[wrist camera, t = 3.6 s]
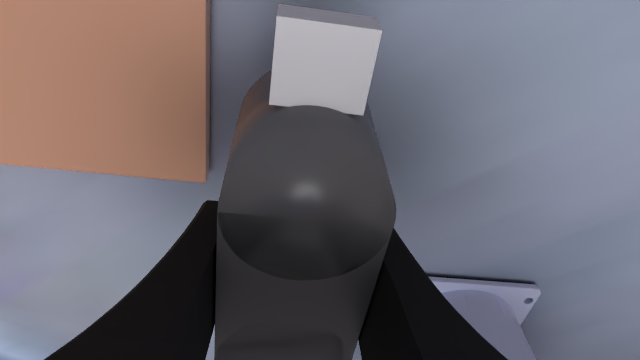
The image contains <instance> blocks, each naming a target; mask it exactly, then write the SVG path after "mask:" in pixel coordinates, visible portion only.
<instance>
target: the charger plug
mask: <svg viewBox="0 0 640 360" xmlns="http://www.w3.org/2000/svg"><path fill="white" fill-rule="evenodd" d="M381 34H382V29H381V27H380V25H379V23H378V21H377V19H376V17H371V16H364V15H357V14H350V13H343V12H336V11H329V10H321V9H314V8H307V7H300V6H293V5H286V4H278V11H277V18H276V30H275V41H274V53H273V64H272V71H270V72H268V73H267V74H265V75H264V76H262V77H261V78H260V79H259V80H258V81H256V82H255V84H254V85H253V86H252V87H251V88H250V90H249V91H248V93H247V94H246V96H245V98H244V101H243V103H242V106H241V110H240V114H239V118H238V122H237V127H236V131H235V135H234V139H233V143H232V147H231V152H230V156H229V160H228V164H227V168H226V172H225V177H224V181H223V185H222V189H221V193H220V197H219V202H218V210H217V252H216V304H215V357H214V360H352V357H353V354H354V351H355V348H356V345H357V341H358V338H359V335H360V332H361V329H362V326H363V322H364V319H365V316H366V313H367V310H368V307H369V303H370V300H371V297H372V294H373V291H374V288H375V284H376V281H377V278H378V275H379V272H380V269H381V265H382V262H383V259H384V256H385V253H386V250H387V246H388V243H389V240H390V237H391V234H392V231H393V227H394V223H395V219H396V205H395V199H394V195H393V192H392V188H391V185H390V181H389V178H388V174H387V170H386V167H385V163H384V160H383V156H382V153H381V149H380V146H379V142H378V139H377V135H376V132H375V128H374V125H373V121H372V117H371V114H370V110H369V107H368V103H367V97H368V93H369V88H370V84H371V79H372V75H373V70H374V66H375V61H376V57H377V52H378V48H379V43H380V39H381Z"/></svg>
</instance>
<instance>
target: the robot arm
mask: <svg viewBox="0 0 640 360" xmlns="http://www.w3.org/2000/svg"><path fill="white" fill-rule="evenodd" d="M218 202H219V201H210V200H207V201H206V202H204V203H203V205H202V206H201V208H200V210H199V211H198V213H197V214H196V216H195V217H194V219H193V220H192V222H191V223H190V224H189V226H188V227H187V228H186V230H185V231H184V232H183V234H182V235H181V236H180V237H179V239H178V240H177V241H176V242H175V244H174V245H173V246H172V247H171V249H170V250H169V251H168V252H167V253H166V254H165V256H164V257H163V258H162V259H161V260H160V261H159V262H158V263H157V264H156V265H155V267H154V268H153V269H152V270H151V271H150V272H149V273H148V274H147V275H146V276H145V277H144V278H143V279H142V280H141V281H140V282H139V283H138V284H137V285H136V286H135V287H134V288H133V289H132V290H131V291H130V292H129V293H128V294H127V295H126V296H125V297H124V298H123V299H121V300H120V301H119V302H118V303H117V304H116V305H115V306H114V307H112V308H111V309H110V310H109V311H108V312H106V313H105V314H104V315H103V316H102V317H100V318H99V319H98V320H97V321H96V322H95V323H93V324H92V325H91V326H90V327H88V328H87V329H86V330H84V331H83V332H82V333H81V334H79V335H78V336H77V337H75V338H74V339H72V340H71V341H70V342H68V343H67V344H65V345H64V346H63V347H61V348H60V349H58V350H57V351H56V352H54V353H53V354H51V355H50V356H49V357H47V358H46V359H44V360H205V358H206V355H207V351H208V347H209V343H210V340H211V336H212V332H213V328H214V325H215V304H216V252H217V210H218ZM540 294H541V291H540V289H539V287H538V286H537V285H534V284H522V283H509V282H495V281H482V280H468V279H455V278H441V277H428V276H427V275H426V273H425V272H424V270H423V269H422V268H421V266H420V265H419V264H418V262H417V261H416V260H415V258H414V257H413V256H412V254H411V253H410V251H409V250H408V248H407V247H406V246H405V244H404V243H403V241H402V240H401V238H400V237H399V235H398V234H397V232H396V231H395V229H394V228H393V231H392V234H391V237H390V240H389V243H388V246H387V250H386V253H385V256H384V259H383V262H382V265H381V269H380V272H379V275H378V278H377V281H376V284H375V288H374V291H373V294H372V297H371V300H370V303H369V307H368V310H367V313H366V316H365V319H364V322H363V326H362V329H361V332H360V335H359V338H358V339H359V345H360V351H361V356H362V360H536V358H535V356H534V354H533V352H532V350H531V347H530V345H529V343H528V341H527V339H526V337H525V335H524V333H523V331H522V329H521V324H522V323H523V321H524V319H525V318H526V316H527V315H528V313H529V312H530V310H531V308H532V307H533V305H534V304H535V302H536V301H537V299H538V298H539V296H540Z"/></svg>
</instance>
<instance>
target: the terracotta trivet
mask: <svg viewBox="0 0 640 360" xmlns="http://www.w3.org/2000/svg"><path fill="white" fill-rule="evenodd" d="M209 152H210V0H0V164H7V165H18V166H28V167H39V168H50V169H60V170H71V171H82V172H93V173H103V174H114V175H125V176H135V177H146V178H157V179H167V180H178V181H189V182H200V183H206V180H207V177H208V173H209Z"/></svg>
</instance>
